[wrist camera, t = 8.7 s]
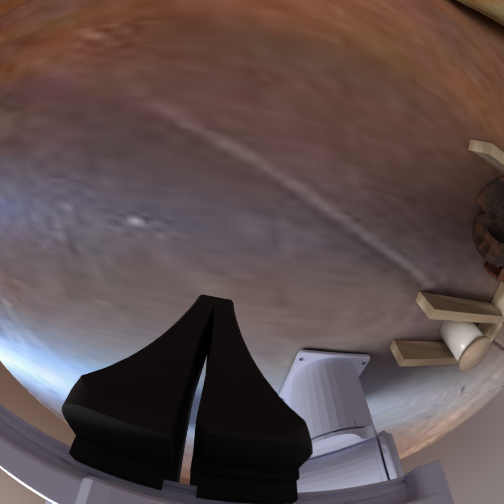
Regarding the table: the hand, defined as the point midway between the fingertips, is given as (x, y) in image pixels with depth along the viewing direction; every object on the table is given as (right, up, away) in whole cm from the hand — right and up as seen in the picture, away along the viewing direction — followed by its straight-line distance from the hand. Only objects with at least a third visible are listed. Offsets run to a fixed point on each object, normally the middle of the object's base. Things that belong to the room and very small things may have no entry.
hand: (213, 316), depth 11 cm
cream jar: (+25, -6, +13) cm, 28 cm away
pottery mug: (+25, +5, +8) cm, 27 cm away
